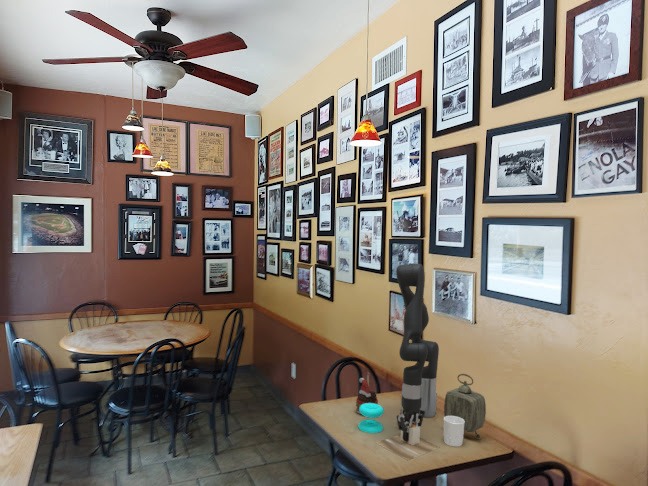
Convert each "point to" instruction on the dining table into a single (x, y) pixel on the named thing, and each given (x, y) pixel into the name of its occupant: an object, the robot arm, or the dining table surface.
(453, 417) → the white cup
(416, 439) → the white block
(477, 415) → the tabletop clock
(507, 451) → the dining table surface
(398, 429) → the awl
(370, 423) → the donuts
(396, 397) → the dining table surface
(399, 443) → the board
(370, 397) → the cake
